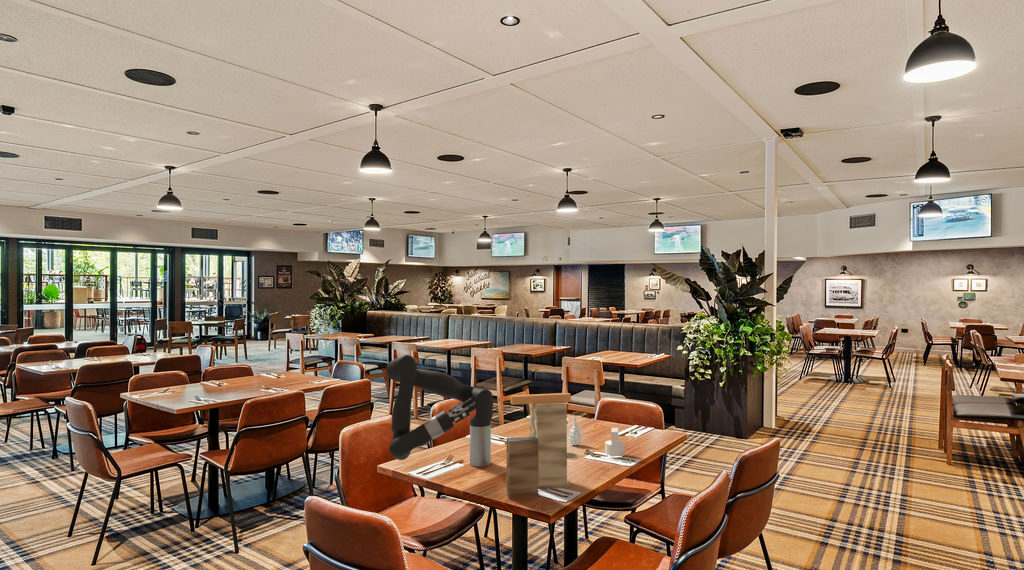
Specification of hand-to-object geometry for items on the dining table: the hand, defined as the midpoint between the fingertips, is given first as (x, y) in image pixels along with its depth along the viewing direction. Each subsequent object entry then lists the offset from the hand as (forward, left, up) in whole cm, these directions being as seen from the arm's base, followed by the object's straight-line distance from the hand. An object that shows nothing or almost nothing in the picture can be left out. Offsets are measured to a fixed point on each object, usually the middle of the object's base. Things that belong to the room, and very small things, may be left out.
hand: (475, 402), depth 215 cm
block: (+12, +15, -33) cm, 38 cm away
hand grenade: (-48, +60, -33) cm, 84 cm away
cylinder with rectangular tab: (-27, +71, -33) cm, 83 cm away
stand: (+2, +29, -33) cm, 44 cm away
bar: (+2, +26, -1) cm, 26 cm away
